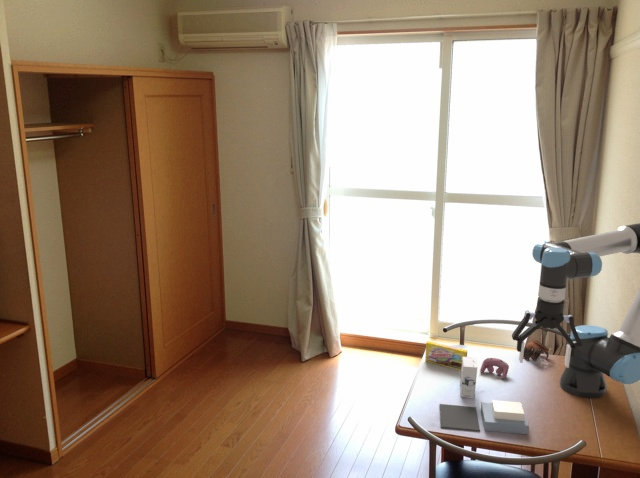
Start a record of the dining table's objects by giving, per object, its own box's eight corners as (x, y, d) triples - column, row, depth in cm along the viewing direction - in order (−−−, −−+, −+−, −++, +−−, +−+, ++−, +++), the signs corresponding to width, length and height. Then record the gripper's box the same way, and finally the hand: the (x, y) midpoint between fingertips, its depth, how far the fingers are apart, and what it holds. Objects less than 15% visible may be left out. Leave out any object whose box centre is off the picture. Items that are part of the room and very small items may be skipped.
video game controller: (507, 380, 216) (511, 361, 217) (505, 379, 212) (508, 361, 213) (481, 373, 221) (485, 355, 222) (478, 373, 217) (482, 354, 218)
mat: (475, 408, 193) (476, 407, 193) (479, 431, 180) (479, 430, 180) (439, 405, 195) (439, 403, 195) (440, 427, 182) (440, 426, 182)
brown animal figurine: (518, 353, 236) (529, 336, 236) (539, 365, 234) (550, 348, 233) (521, 358, 225) (533, 340, 224) (543, 371, 223) (555, 353, 222)
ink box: (459, 385, 209) (461, 355, 206) (474, 386, 208) (476, 357, 205) (460, 397, 200) (462, 366, 198) (475, 398, 199) (477, 367, 197)
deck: (521, 413, 190) (522, 405, 189) (527, 434, 178) (528, 425, 178) (480, 410, 192) (481, 402, 191) (484, 430, 181) (485, 421, 180)
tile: (520, 409, 187) (520, 402, 186) (523, 421, 180) (524, 413, 180) (491, 406, 188) (492, 400, 188) (494, 418, 182) (494, 411, 181)
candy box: (424, 361, 228) (425, 342, 226) (426, 359, 229) (427, 340, 227) (464, 371, 219) (466, 351, 217) (466, 369, 221) (467, 349, 219)
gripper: (509, 299, 173) (503, 364, 178) (598, 306, 168) (589, 373, 173) (507, 291, 180) (500, 354, 185) (591, 298, 175) (583, 362, 180)
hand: (543, 363), depth 179 cm, fingers open, 13 cm apart
